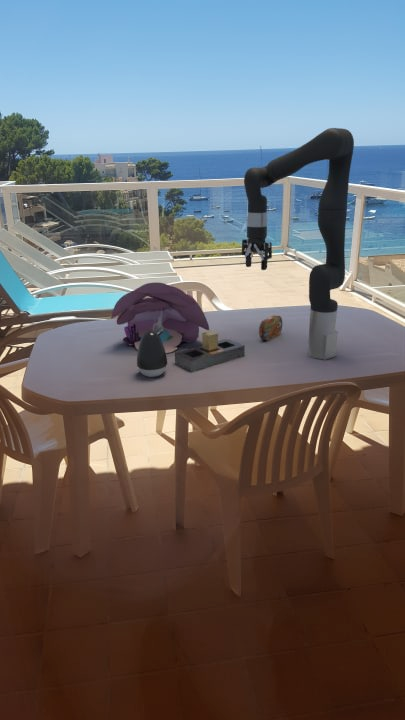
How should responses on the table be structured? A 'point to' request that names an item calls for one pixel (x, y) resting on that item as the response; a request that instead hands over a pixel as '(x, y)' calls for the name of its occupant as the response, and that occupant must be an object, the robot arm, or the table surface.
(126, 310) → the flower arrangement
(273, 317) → the tin
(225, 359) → the hole rail
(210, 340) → the square peg
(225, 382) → the table surface
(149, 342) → the aroma diffuser
